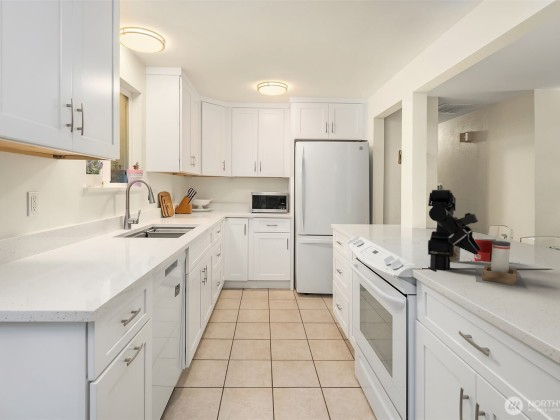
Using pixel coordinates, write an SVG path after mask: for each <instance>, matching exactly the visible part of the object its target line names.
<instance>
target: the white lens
mask: <svg viewBox="0 0 560 420" xmlns="http://www.w3.org/2000/svg"><path fill="white" fill-rule="evenodd" d="M492 244H493V245H492V261H491V262H490V263H491V265H490V266H491V271H493V272H501V273H508V270H509V269H510V268H509V266H510V254H511V253H510V252H511V242H510V241H505V240H496V241H493V243H492Z"/></svg>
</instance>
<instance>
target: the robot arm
mask: <svg viewBox="0 0 560 420" xmlns="http://www.w3.org/2000/svg"><path fill="white" fill-rule="evenodd" d="M428 197H429V198H428V207H431V208H430V209H429V211H428V215H429V218H430V219H431V220H432V221H434V222H436V228H435V229H436V230H434V231H431V235H430V238H429V239H428V242H427V256H430V266H427V269H429V270H431V271H433V272H435V273H436V272H438V271H447V270H451V262H450V259H449V258H450V257H453V256H454V246H457V247H459V248H460V249H462V250H464V251H466V252H468V253H471V254H473V255H474V254H475V255H477V254H478V251H479V250H481V249H480V247H479V246H478V244H477V243H476V241H475V237H473V236H474V235H473V234H474V233H473V232H474V231H473V228H472V227H471V226H470V225H471V224H476V223H478V222H479V220H478V218H477V215H476V214H475V213H471V212H466V213H465V214H464V217H460V218H458V217H457V216H454V215H455V213H454V212H455V211H456V210H457V202H456V201H457V200H456V199H457V197H455V196H454V194H453V192H452V190H450V189H432V190H431V192H429V196H428ZM455 242H457V243H456V244H454V243H455ZM453 244H454V245H453ZM441 252H442V253H441ZM449 252H450V253H449Z"/></svg>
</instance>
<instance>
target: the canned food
mask: <svg viewBox="0 0 560 420" xmlns="http://www.w3.org/2000/svg"><path fill="white" fill-rule="evenodd" d="M474 240H475V241H476V243H477V244H478V246H479V247H480V249H481V250H479V251H478V254H477V255H475V254H473V260H474V261H475V262H485V263H491V261H492V245H493V244H492V243H493V241H497V238H495V237H489V236H475V237H474Z"/></svg>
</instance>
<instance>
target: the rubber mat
mask: <svg viewBox="0 0 560 420" xmlns="http://www.w3.org/2000/svg"><path fill="white" fill-rule="evenodd" d="M483 269H484V267H478V266H477V267H475V282H476V283H484V284H491V285H496V286H506V287H514V288H520V289H521V288H522V289H528V287H527V285H526V283H525V281H524V279H523V278H522V276H521V273H520V272H519V271H517V281H516V286H515V285H508V284H502V283H495V282H488V281H482V270H483Z"/></svg>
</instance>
